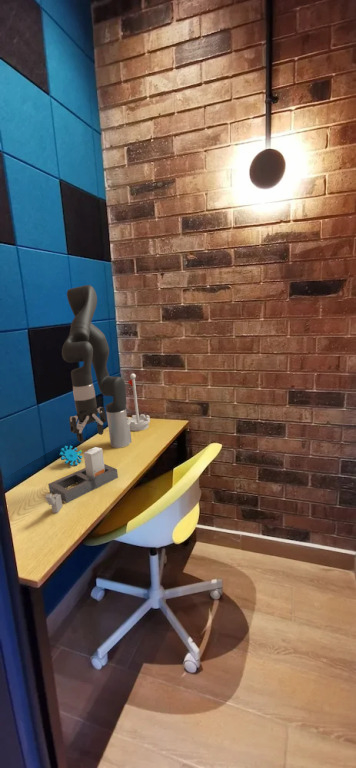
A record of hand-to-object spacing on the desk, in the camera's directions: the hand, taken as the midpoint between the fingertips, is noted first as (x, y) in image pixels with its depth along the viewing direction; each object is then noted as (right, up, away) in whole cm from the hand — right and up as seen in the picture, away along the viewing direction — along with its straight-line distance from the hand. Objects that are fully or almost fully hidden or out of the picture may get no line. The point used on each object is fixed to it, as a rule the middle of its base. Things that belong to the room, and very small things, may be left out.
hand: (91, 438), depth 131 cm
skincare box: (+1, -17, +4) cm, 17 cm away
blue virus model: (-13, -14, +21) cm, 28 cm away
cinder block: (-2, -18, 0) cm, 18 cm away
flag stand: (+11, -4, +60) cm, 61 cm away
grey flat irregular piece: (-7, -22, -17) cm, 28 cm away
